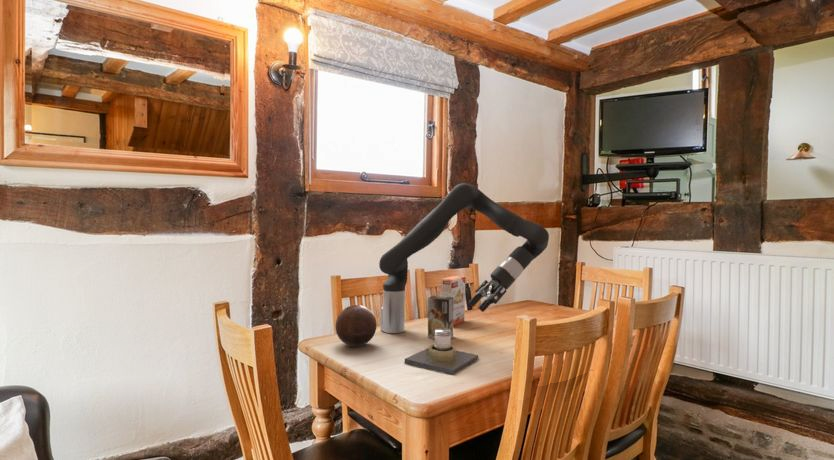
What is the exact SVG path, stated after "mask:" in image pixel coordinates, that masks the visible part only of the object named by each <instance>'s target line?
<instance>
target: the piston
mask: <svg viewBox="0 0 834 460" xmlns="http://www.w3.org/2000/svg"><path fill="white" fill-rule="evenodd" d="M451 341H452V338H451V330H450V329H446V328H438V329H435V339H434V345H435V350H437V351H450V345H452V344H451V343H452V342H451Z"/></svg>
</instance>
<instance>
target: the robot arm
mask: <svg viewBox="0 0 834 460" xmlns="http://www.w3.org/2000/svg"><path fill="white" fill-rule="evenodd" d="M464 209H471V210H473V211H476V212H478V213H481V214H482V215H484V216H486V217H487V218H488V219H489V220H490V221H492V223H494V224H495V225H497V227H499V228H501V229H502V230H503V231H505V232H506V233H509V234H510V235H512V236H513V237H517V238H518V237H521V238H523V239H525V240H526V241H525V242H524V243H523V244H522V245H521V246H517V247H516V248H514V250H512V251H511V253H510V254H509V255H508V256H507V257H506V258H505V259H504V260H502V261H501V262H500V264H499V265H498V266H497V267H496V268H494V270H493V271H492V272H491V273H490V274H489V275H490V278H491V280H490V281H488V280H487V279H485V280H484V281H483V282H482V283H481V284H480V285H479V286H478V287H477V288H476V289H475V290H474V293H475V295H474V296H473V297H472V298H471V299H470V300H469V302H468V304H469V305H470V306H472V307H475V306H476V304H477V303H478V302H480V300H482V299H483V298H484V297H486V298H485V299H484V300H483V301H482V302H481V304H480V305H478V309H479V311H480V312H485V311H486V310H487V309H488V307H490V306H491V305H493V304H497V303H498V302H499V301H500V300H501V298H503V296H504V295H505V294H506V293H507V290H508V289H510V287H511V286H512V285H513V284H514V283H515V281H517V279H518V278H519V277H520V276H521V274H522V273H523V272H524V270H526V268H527V267H528V266H529V265H530V264H531V262H533V261H534V260H535V259H536V258H537V257H539V256H540V255H541V254H542V253H543V252H544V251H545V250H546V249H547V247H548V245H549V239H550V235H549V231H548V230H547V229H546V228H545V227H543V226H542V225H541V224H539V223H535V222H533V221H530V220H527V219H524V218H523V217H521V216H520V215H518V214H516V213H514V212H512V211H511V210H509V209H507V208H506V207H504V206H502V205H501V204H498V203H497V202H495V201H494V200H492V199H491V198H490V197H488V195H486V194H485V193H484V192H483V191H481V190H480V189H479V188H478V187H476V186H475V185H474V184H470V183H466V182H465V183H462V182H461V183H458V184H457V185H455V186H454V187H453V188H452V189H451V190H450V192H449V193H448V194H447V195H446V196H445V197H444V198H443V200H442V201H441V202H440V203H439V204H438V205H437V206H436V207H434V208H433V209H432V210H431V211H430V212H429V213H427V214H426V216H425V217H424V218H422V219H421V220H420V221H419V222H418V223H417V224H416V225H415V226H414V227H412V229H411V230H410V231H409V232H408V233H407V234H405V236H404V237H402V239H401V240H400V241H399V242H398V243H397V244H396V245H394V246H393V247H392V248H390V249H389V250H387V251H386V252H384V253H383V254H382V256H381V257H380V259H379V262H378V264H379V269H380V271H381V272H382V273H384V274H385V275H388V276H387V277H386V278H387V279H386V280H385V281H383V284H382V307H381V308H380V331H382V332H383V333H386V334H400V333H401V334H402V333H403V332H405V328H406V327H405V322H406V321H405V320H406V319H405V318H406V313H405V312H406V308H405V307H406V285H407V283H408V273H409V271H408V270H409V269H408V268H409V265H408V263H409V261H408V258H410V257H412V255H414V254H416V253H417V252H420V251H421V250H422V249H423V250H424V249H425V248H427V247H428V246H430V244H432V243H433V242H434V241H436V239H438V237H439V236H440V235H441V234H442V233H443V232H444V230H445V228H446V227H447V225H448V224H449V222H450V221H451V220H452V218H454V216H456V215H457V214H458V213H460V212H461V211H462V210H464Z"/></svg>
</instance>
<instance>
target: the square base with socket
mask: <svg viewBox="0 0 834 460" xmlns="http://www.w3.org/2000/svg"><path fill="white" fill-rule="evenodd" d="M478 360H479V354H476V353H471V352H465V351H460V350H457V347H456V346H454V345H452V344H451V345H450V351H437V350H435V344H431V345H430V346H428V347H427V348H425V349H423V350H421V351H418V352H417V353H415V354H412V355H410V356H408V357H406V358H404V364H405V365H409V366H414V367H417V368H418V367H419V368H422V369H427V370H430V371H435V372H439V373H444V374H448V375H452V376H453V375H455V374H456V373H458V372H460V371H461V370H463V369H465V368H467V367H468V366H470V365H472V364H473V363H475V362H477V361H478Z"/></svg>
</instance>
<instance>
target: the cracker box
mask: <svg viewBox="0 0 834 460" xmlns="http://www.w3.org/2000/svg"><path fill="white" fill-rule="evenodd" d="M466 278H467V277H466V276H462V275H453V276H449V277H444V278H443V277H442V278H441V279H440V296H444V297H453V327H454V326H456V325H458V324H461V323H463V322H465V313H466V312H465V309H466V307H465V306H466V305H465V304H466V280H467V279H466Z"/></svg>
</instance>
